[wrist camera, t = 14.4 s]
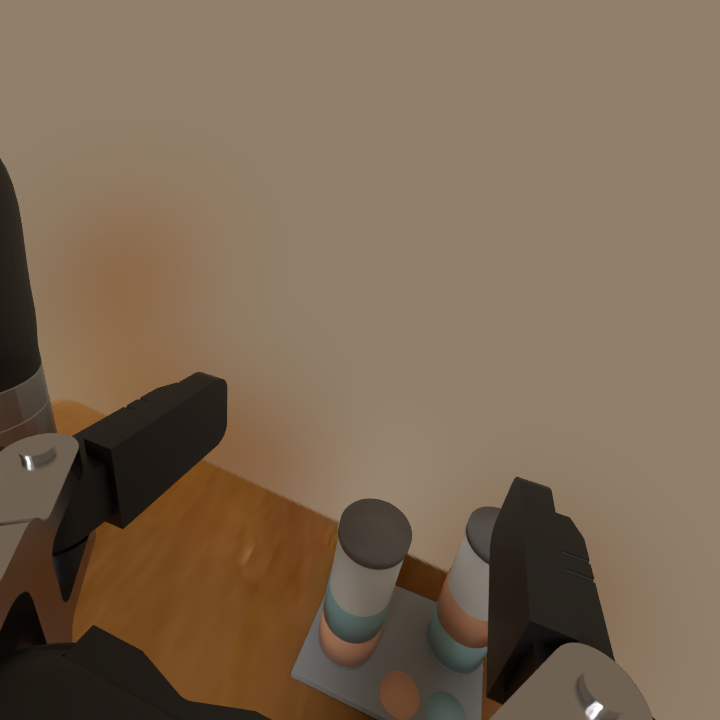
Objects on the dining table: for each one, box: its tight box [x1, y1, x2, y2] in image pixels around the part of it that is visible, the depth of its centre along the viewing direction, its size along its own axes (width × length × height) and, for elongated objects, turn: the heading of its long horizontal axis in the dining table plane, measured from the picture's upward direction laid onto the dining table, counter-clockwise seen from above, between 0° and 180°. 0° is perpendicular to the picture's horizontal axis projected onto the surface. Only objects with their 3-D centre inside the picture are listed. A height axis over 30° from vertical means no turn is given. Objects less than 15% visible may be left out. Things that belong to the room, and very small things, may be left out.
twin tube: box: [426, 507, 501, 676], centre depth 30 cm, size 5×5×13 cm
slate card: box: [291, 585, 483, 720], centre depth 32 cm, size 14×10×1 cm
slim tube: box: [318, 499, 412, 670], centre depth 29 cm, size 5×5×13 cm
